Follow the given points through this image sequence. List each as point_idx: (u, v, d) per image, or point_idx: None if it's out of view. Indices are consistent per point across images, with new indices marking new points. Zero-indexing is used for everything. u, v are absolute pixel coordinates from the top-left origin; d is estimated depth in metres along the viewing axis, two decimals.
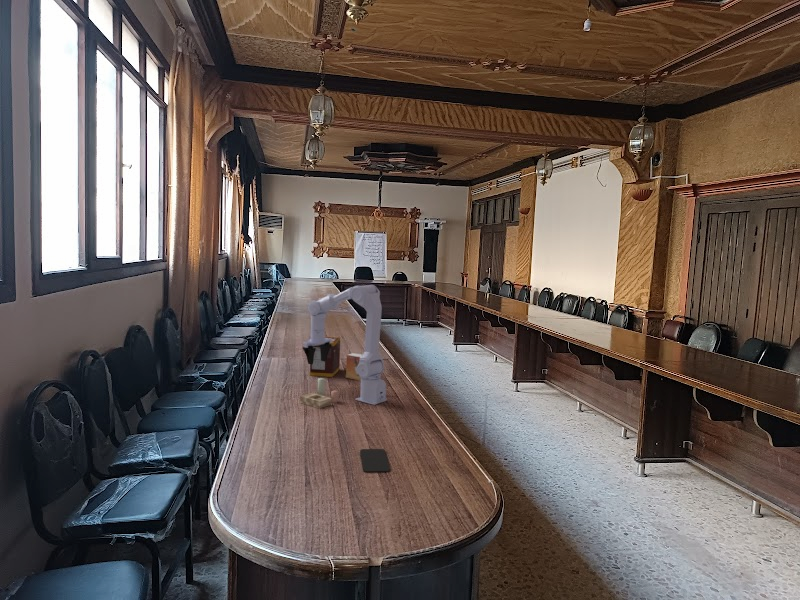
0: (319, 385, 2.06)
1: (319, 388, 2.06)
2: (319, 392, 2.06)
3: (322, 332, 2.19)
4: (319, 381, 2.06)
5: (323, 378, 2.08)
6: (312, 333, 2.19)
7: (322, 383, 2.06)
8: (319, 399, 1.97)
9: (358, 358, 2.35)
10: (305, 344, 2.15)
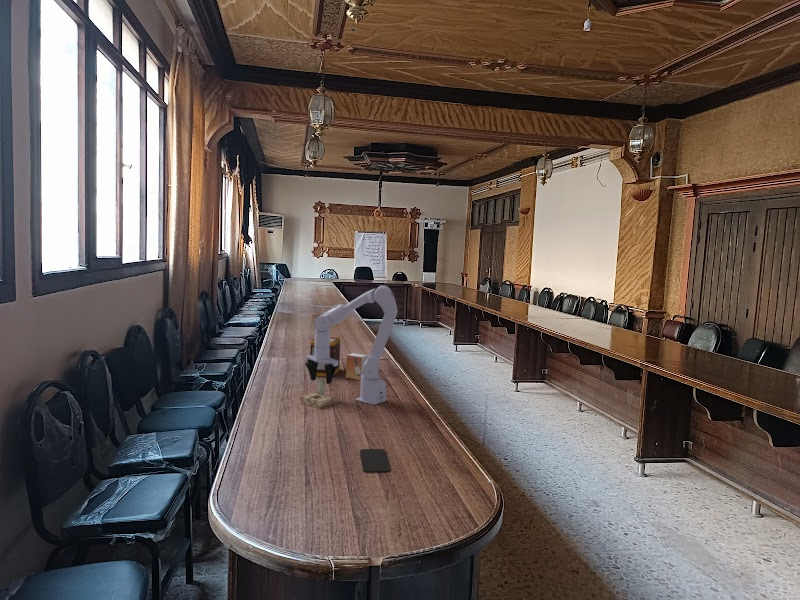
0: (319, 385, 2.06)
1: (319, 388, 2.06)
2: (319, 392, 2.06)
3: (316, 349, 2.03)
4: (319, 381, 2.06)
5: (323, 378, 2.08)
6: None
7: (322, 383, 2.06)
8: (319, 399, 1.97)
9: (358, 358, 2.35)
10: None
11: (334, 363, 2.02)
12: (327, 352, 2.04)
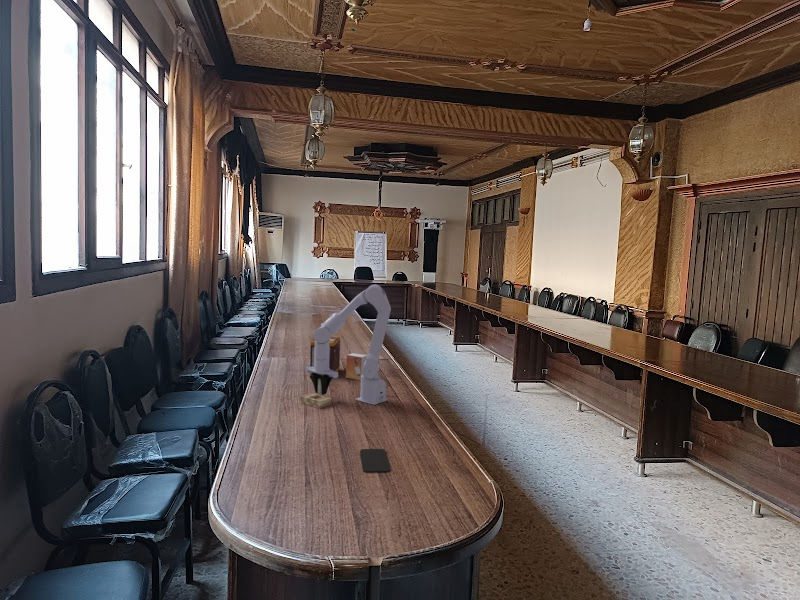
0: (319, 385, 2.06)
1: (319, 388, 2.06)
2: (319, 392, 2.06)
3: (316, 361, 2.04)
4: (319, 381, 2.06)
5: None
6: None
7: None
8: (319, 399, 1.97)
9: (358, 358, 2.35)
10: None
11: (334, 375, 2.02)
12: (327, 364, 2.05)
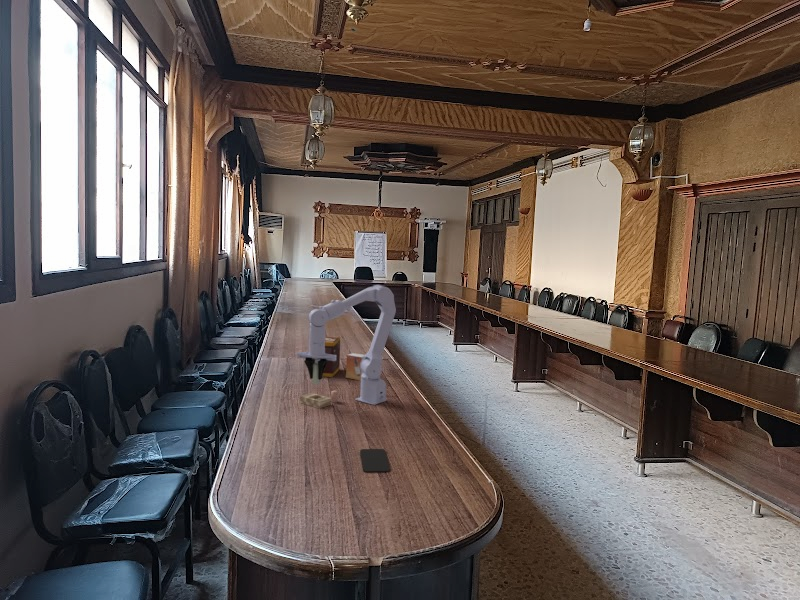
0: (315, 370, 1.98)
1: (316, 373, 1.98)
2: (315, 378, 1.98)
3: (313, 345, 1.96)
4: (315, 366, 1.98)
5: None
6: None
7: (318, 368, 1.98)
8: (319, 399, 1.97)
9: (358, 358, 2.35)
10: None
11: (333, 358, 1.97)
12: (324, 347, 1.98)
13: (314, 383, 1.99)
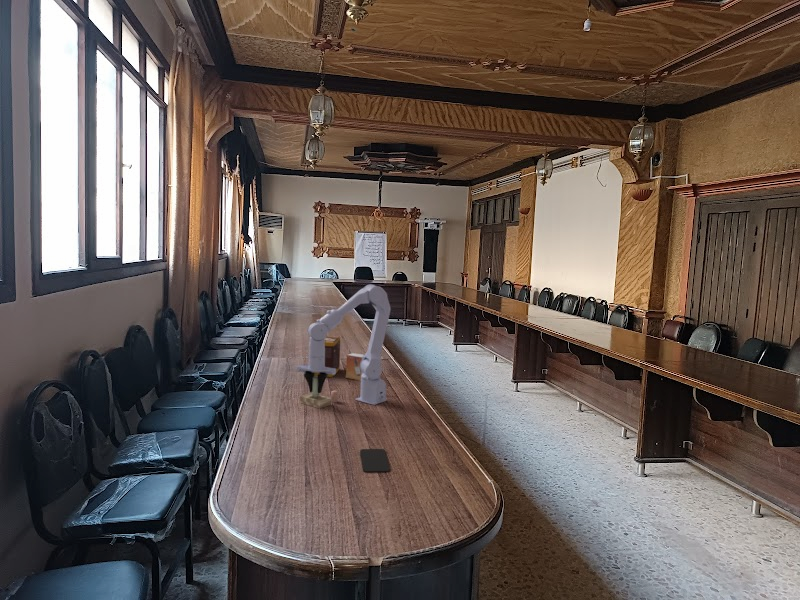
0: (315, 384, 1.98)
1: (315, 387, 1.99)
2: (315, 391, 1.99)
3: (313, 359, 1.96)
4: (315, 380, 1.98)
5: None
6: None
7: None
8: (319, 399, 1.97)
9: (358, 358, 2.35)
10: None
11: (333, 371, 1.97)
12: (323, 361, 1.98)
13: (314, 396, 1.99)
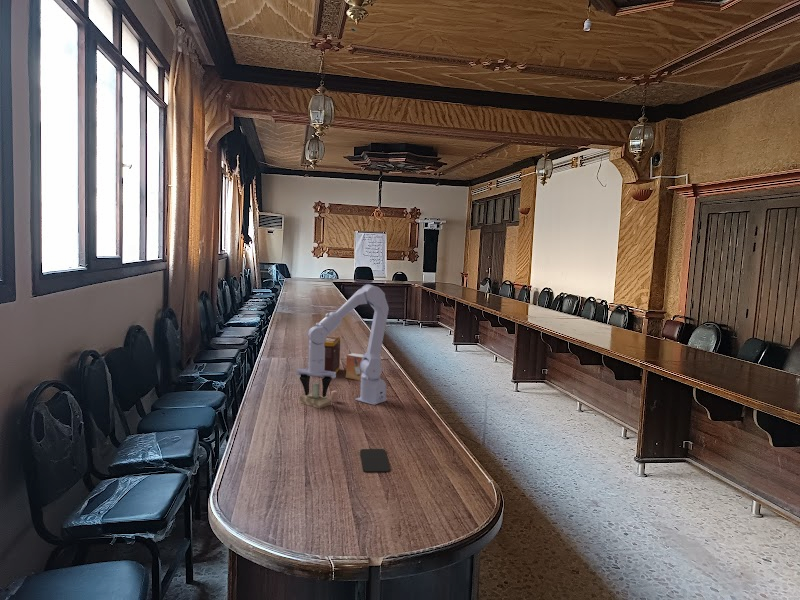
0: (315, 390, 1.99)
1: (315, 393, 1.99)
2: (315, 398, 1.99)
3: (313, 362, 1.96)
4: (315, 386, 1.99)
5: (317, 383, 2.01)
6: None
7: (318, 388, 1.99)
8: (319, 399, 1.97)
9: (358, 358, 2.35)
10: None
11: (333, 375, 1.97)
12: (323, 364, 1.98)
13: None
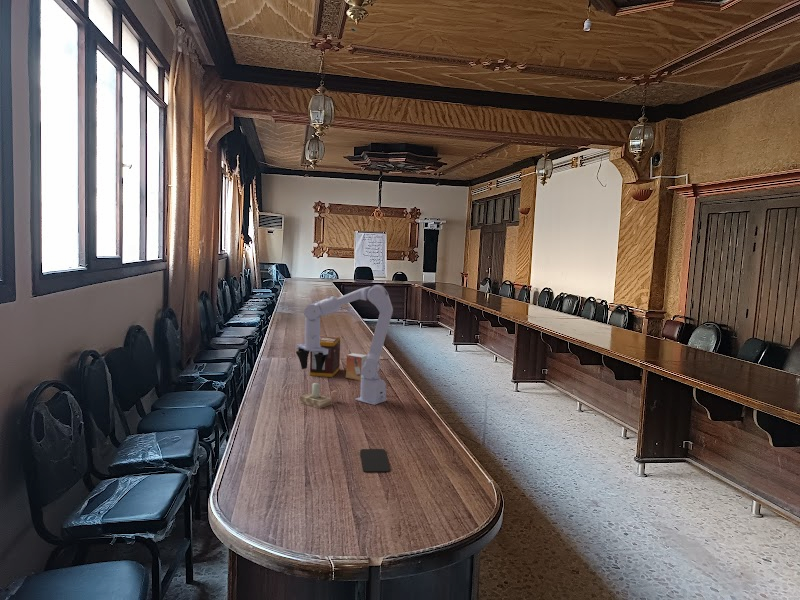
0: (315, 390, 1.99)
1: (315, 393, 1.99)
2: (315, 398, 1.99)
3: (306, 338, 2.04)
4: (315, 386, 1.99)
5: (317, 383, 2.01)
6: None
7: (318, 388, 1.99)
8: (319, 399, 1.97)
9: (358, 358, 2.35)
10: None
11: (324, 351, 2.02)
12: (317, 340, 2.05)
13: None
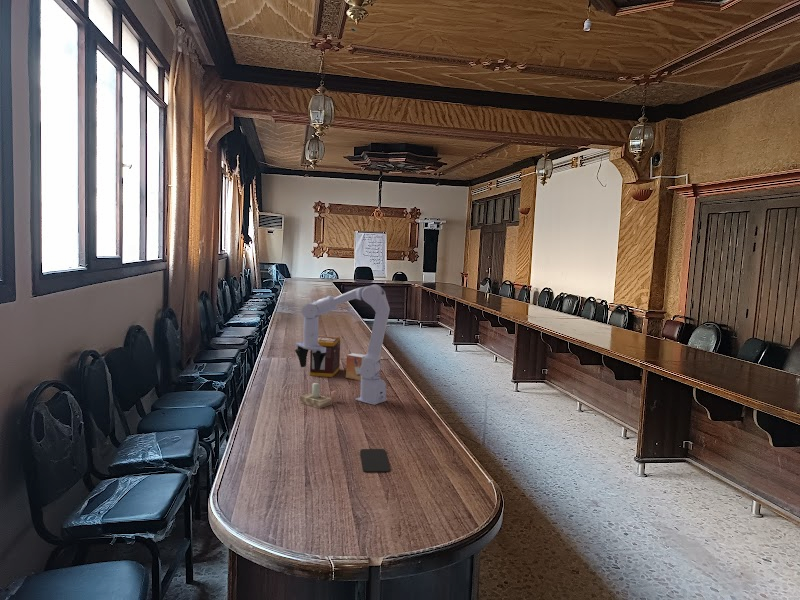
0: (315, 390, 1.99)
1: (315, 393, 1.99)
2: (315, 398, 1.99)
3: (305, 336, 2.07)
4: (315, 386, 1.99)
5: (317, 383, 2.01)
6: None
7: (318, 388, 1.99)
8: (319, 399, 1.97)
9: (358, 358, 2.35)
10: None
11: (321, 350, 2.05)
12: (315, 339, 2.08)
13: None
